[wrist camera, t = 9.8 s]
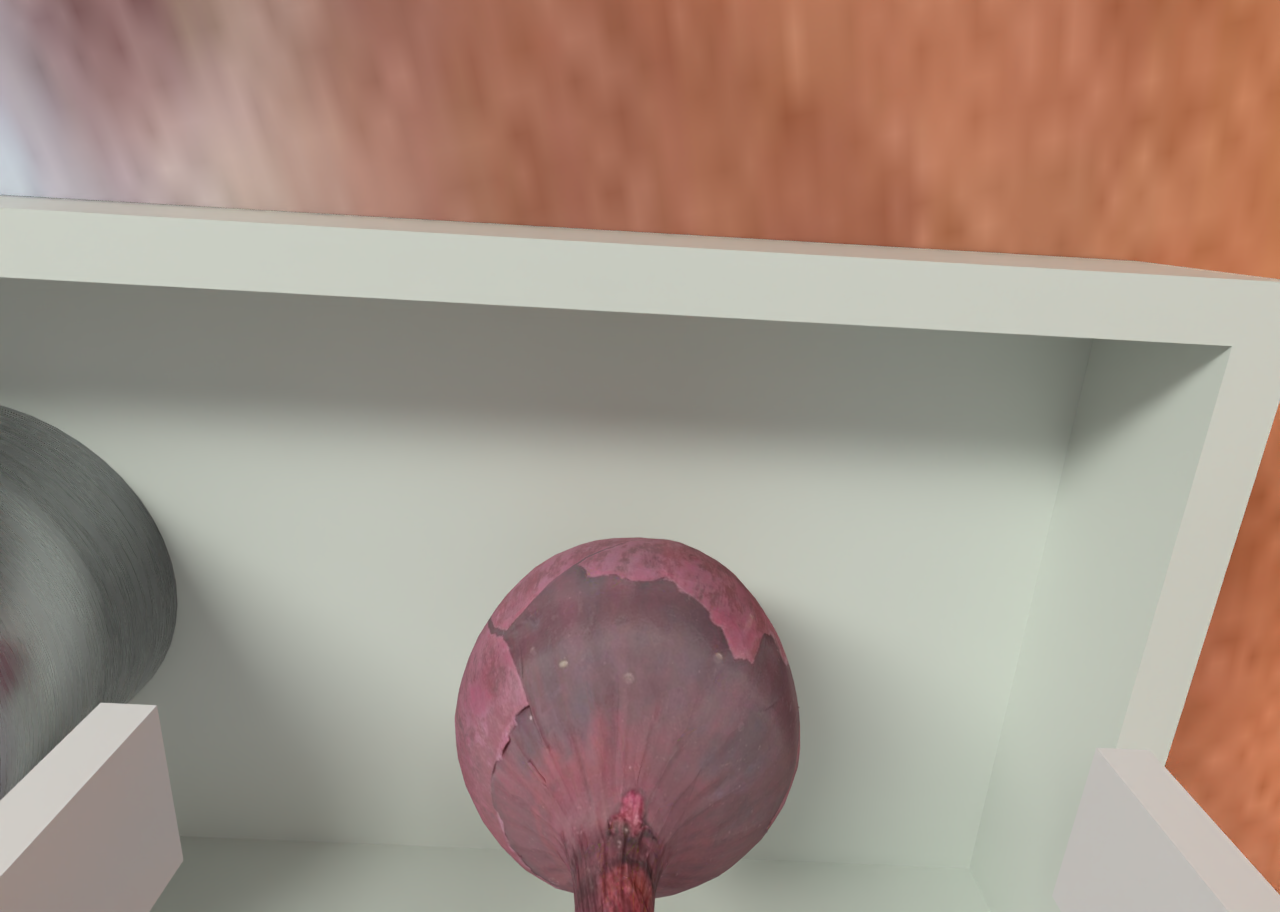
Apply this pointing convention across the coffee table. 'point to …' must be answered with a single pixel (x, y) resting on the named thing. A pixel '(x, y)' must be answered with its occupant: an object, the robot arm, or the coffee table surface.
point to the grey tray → (646, 519)
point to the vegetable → (628, 722)
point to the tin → (71, 590)
